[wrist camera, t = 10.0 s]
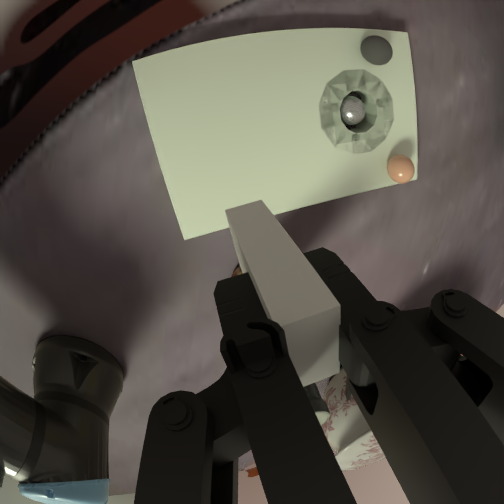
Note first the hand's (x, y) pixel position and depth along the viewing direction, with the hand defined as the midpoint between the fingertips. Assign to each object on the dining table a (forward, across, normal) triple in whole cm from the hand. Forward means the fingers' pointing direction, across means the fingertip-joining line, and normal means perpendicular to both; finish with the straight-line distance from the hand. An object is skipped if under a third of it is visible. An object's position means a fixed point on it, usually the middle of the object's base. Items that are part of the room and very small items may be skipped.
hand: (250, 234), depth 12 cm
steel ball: (+17, +15, +1) cm, 23 cm away
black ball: (+14, +18, +8) cm, 24 cm away
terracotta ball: (+14, +20, -5) cm, 25 cm away
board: (+19, +10, +1) cm, 21 cm away
